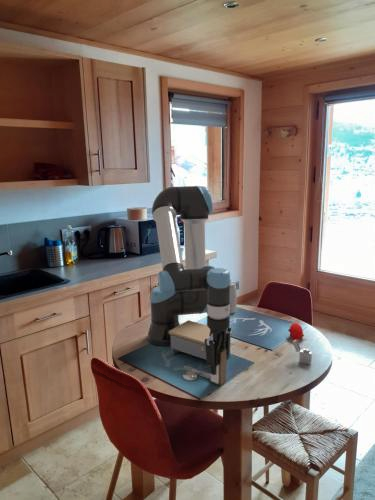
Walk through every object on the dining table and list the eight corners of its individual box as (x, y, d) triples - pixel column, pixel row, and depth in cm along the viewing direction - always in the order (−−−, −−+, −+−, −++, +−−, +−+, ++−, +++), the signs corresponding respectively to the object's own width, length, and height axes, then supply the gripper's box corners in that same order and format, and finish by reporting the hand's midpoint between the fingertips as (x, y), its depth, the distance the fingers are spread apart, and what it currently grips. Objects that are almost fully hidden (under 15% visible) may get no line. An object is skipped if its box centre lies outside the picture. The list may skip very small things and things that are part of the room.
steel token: (180, 379, 135) (180, 376, 135) (187, 372, 139) (187, 370, 139) (193, 382, 133) (193, 380, 132) (199, 376, 137) (199, 373, 137)
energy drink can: (237, 313, 192) (238, 285, 189) (226, 314, 191) (226, 286, 188) (233, 309, 198) (234, 281, 195) (222, 310, 197) (222, 282, 194)
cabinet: (167, 355, 151) (167, 332, 149) (188, 342, 162) (188, 320, 160) (212, 371, 139) (213, 346, 137) (232, 356, 150) (232, 332, 148)
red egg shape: (287, 325, 169) (285, 323, 164) (301, 322, 168) (299, 320, 162) (292, 344, 166) (289, 342, 161) (306, 341, 164) (304, 339, 159)
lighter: (311, 362, 144) (312, 343, 143) (310, 364, 143) (311, 344, 141) (292, 357, 148) (293, 338, 146) (291, 359, 147) (292, 340, 145)
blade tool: (181, 371, 139) (181, 340, 137) (187, 367, 142) (186, 337, 140) (220, 385, 130) (221, 353, 127) (226, 381, 133) (226, 349, 130)
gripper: (214, 326, 119) (214, 394, 124) (240, 309, 132) (239, 371, 137) (194, 320, 123) (195, 386, 128) (221, 305, 136) (221, 365, 141)
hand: (218, 378), depth 132 cm, fingers closed on blade tool, 3 cm apart
